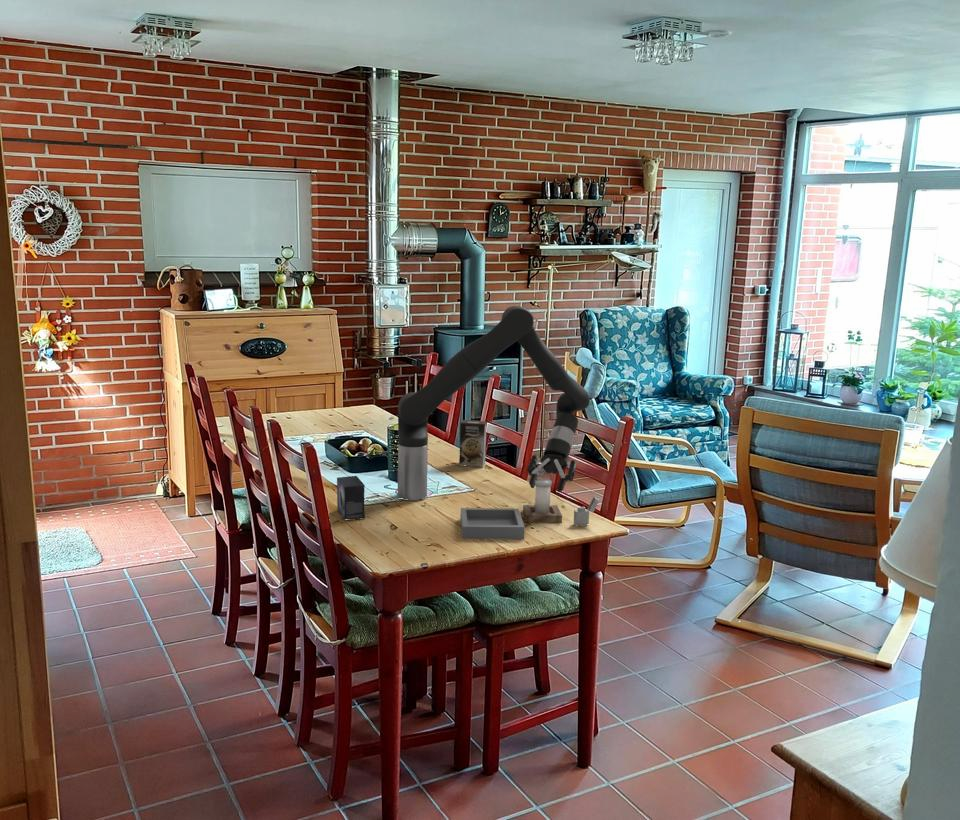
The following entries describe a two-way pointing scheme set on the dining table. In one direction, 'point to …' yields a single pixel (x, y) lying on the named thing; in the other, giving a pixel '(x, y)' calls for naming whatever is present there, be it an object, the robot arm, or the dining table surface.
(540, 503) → the fuse
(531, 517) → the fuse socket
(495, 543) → the dining table surface
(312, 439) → the dining table surface
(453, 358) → the robot arm
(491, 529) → the parts tray
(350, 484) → the small box
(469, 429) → the coffee box
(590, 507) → the lighter
